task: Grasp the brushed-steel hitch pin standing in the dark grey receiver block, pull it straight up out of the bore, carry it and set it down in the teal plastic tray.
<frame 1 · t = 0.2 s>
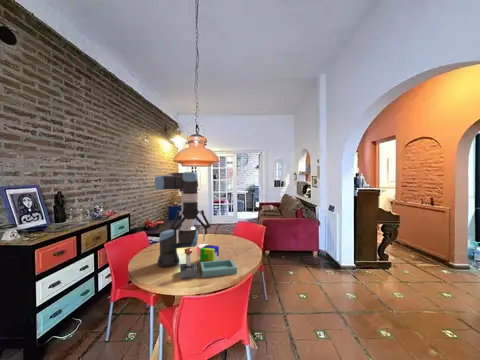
hand: (190, 241, 124), 28 cm above the table, fingers open, 13 cm apart
receiver block: (188, 274, 149), on the table
puzzle toy: (209, 261, 172), on the table
pin: (188, 262, 149), in the receiver block
tray: (218, 270, 155), on the table
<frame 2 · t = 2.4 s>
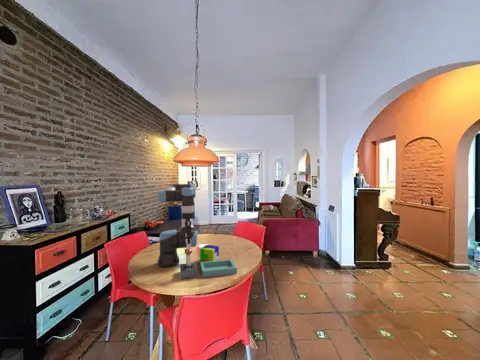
hand: (188, 245, 148), 18 cm above the table, fingers open, 13 cm apart
nothing on the table moved.
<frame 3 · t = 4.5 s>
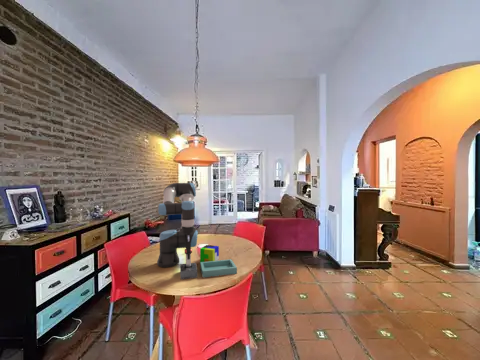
hand: (188, 262, 149), 8 cm above the table, fingers closed on pin, 5 cm apart
pin: (188, 262, 149), in the receiver block, touching gripper
everything else where it was.
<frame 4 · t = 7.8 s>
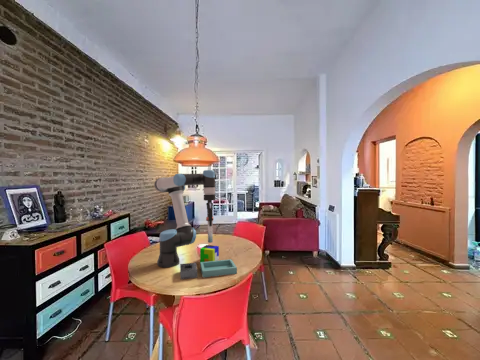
hand: (210, 230, 152), 27 cm above the table, fingers closed on pin, 5 cm apart
pin: (210, 229, 152), point 28 cm above the table, touching gripper
everything else where it was.
when the fingers open (10 cm above the table, at t = 11.5 s): pin drops 1 cm, resting on tray.
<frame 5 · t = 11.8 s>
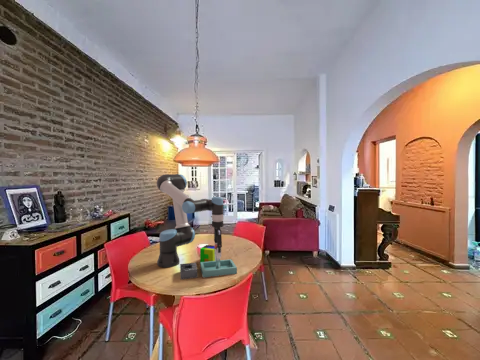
hand: (217, 254, 154), 10 cm above the table, fingers open, 9 cm apart
pin: (217, 257, 155), in the tray, point 9 cm above the table
everything else where it was.
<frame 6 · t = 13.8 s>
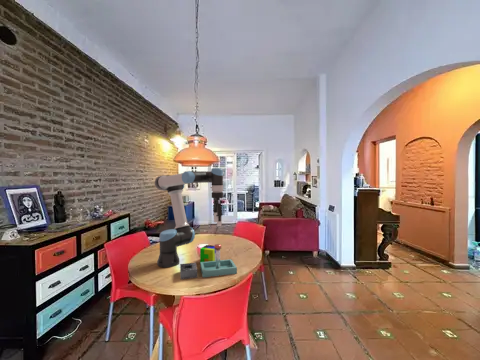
hand: (217, 224, 154), 31 cm above the table, fingers open, 13 cm apart
nothing on the table moved.
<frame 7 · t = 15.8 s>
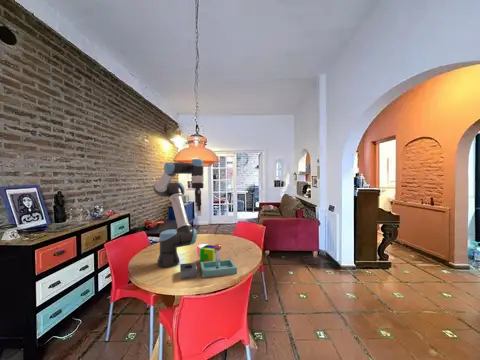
hand: (198, 214, 157), 37 cm above the table, fingers open, 13 cm apart
nothing on the table moved.
at the end: pin inside the target area on the tray (0.1 cm from its centre), point 8.8 cm above the tray's base; the gripper is holding nothing; pin touching tray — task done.
